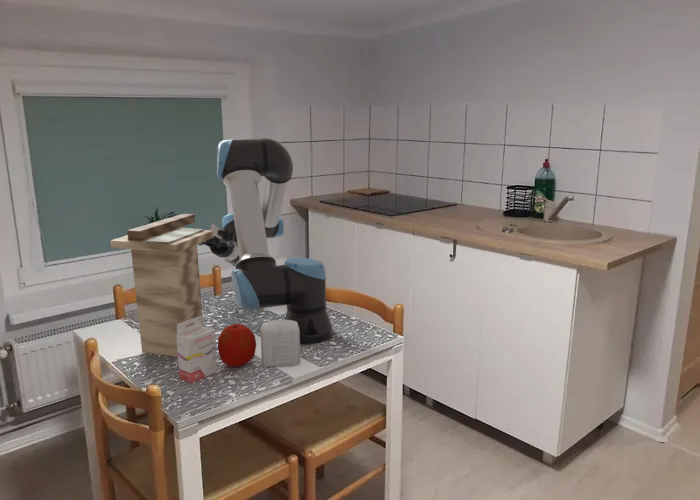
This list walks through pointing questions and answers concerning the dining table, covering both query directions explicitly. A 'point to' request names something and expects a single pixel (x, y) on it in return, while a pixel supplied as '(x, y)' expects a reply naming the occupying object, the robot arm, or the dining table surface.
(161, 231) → the walnut strip
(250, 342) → the apple
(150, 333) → the oak stand
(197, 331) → the ink cartridge box
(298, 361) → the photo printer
